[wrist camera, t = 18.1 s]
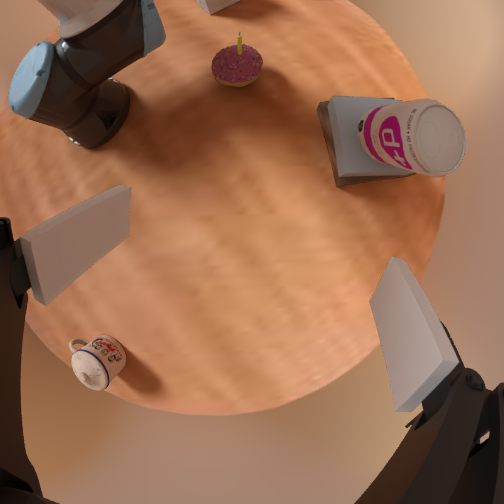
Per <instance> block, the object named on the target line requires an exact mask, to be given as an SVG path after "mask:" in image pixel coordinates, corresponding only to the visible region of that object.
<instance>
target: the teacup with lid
mask: <svg viewBox="0 0 504 504" xmlns="http://www.w3.org/2000/svg"><path fill="white" fill-rule="evenodd" d="M77 343H79V344H83V345H85V346H84V347H83V348H82V349H80V350H77V349H76V348H75V347H74V346H73V344H77ZM69 347H70V350H71V351H72V352H73V353H74V354H73V357H72V367H73V370H74V372H75V374H76V376H77V377H78V379H79V380H80V381H81V382H82V383H83V384H84V385H85V386H87V387H89V388H90V389H93V390H104V389H106V388H107V387H108V385H109V383H110V382H111V381H112V380H113V378H114V377H115V376H116V375H117V374H118V373H119V372H120V371H121V370H122V369H123V368H124V366H125V365H126V354H125V351H124V349H123V348H122V346H121V345H120V344H119V343H118V342H117V341H116V340H115V339H114V338H112V337H110V336H107V335H101V336H98V337H97V338H95V339H94V340H93V341H91V342H90V343H89V342H87V341H86V340H84V339H80V338H76V339H73V340H71V341H70V344H69Z"/></svg>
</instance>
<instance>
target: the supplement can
mask: <svg viewBox="0 0 504 504" xmlns="http://www.w3.org/2000/svg"><path fill="white" fill-rule="evenodd" d="M357 135H358V140H359V144H360V146H361V147H362V149H363V151H364V152H365V153H366V154H367V155H368V156H369V157H370V158H371V159H373V160H375V161H378V162H380V163H384V164H388V165H391V166H395V167H399V168H402V169H406V170H409V171H413V172H416V173H419V174H422V175H425V176H429V177H441V176H443V175H445V174H448V173H450V172H452V171H454V170H456V168H457V167H458V166H459V165H460V164H461V162H462V160H463V157H464V155H465V148H466V139H465V132H464V129H463V127H462V125H461V122H460V120H459V118H458V117H457V116H456V114H455V113H454V112H453V111H452V110H450V109H449V108H447V107H446V106H444V105H442V104H441V103H439V102H438V101H436V100H431V99H419V100H413V101H407V102H401V103H395V104H390V105H384V106H379V107H375V108H372V109H369V110H368V111H367V112H366V113H364V114H363V115H362V117H361V119H360V121H359V123H358V131H357Z"/></svg>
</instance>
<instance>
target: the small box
mask: <svg viewBox="0 0 504 504" xmlns="http://www.w3.org/2000/svg"><path fill="white" fill-rule="evenodd" d="M196 1H197V3H198V5H199V6H200V7H201V8H202V9H204V10H205V11H206V12H207V13H209V14H210V15H212V14H213V13H215V12H217V11H219V10H221V9H223V8H225V7H228V6H230V5H232V4H234V3H236V2H238V1H241V0H196Z"/></svg>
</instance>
